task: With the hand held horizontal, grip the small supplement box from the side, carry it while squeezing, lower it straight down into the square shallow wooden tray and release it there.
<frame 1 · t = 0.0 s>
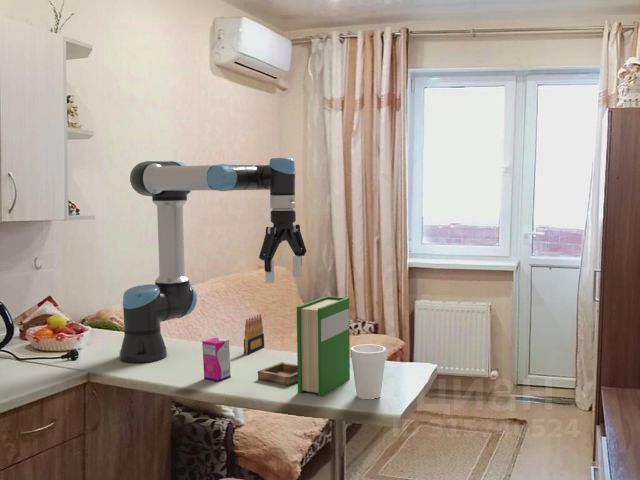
hand: (284, 279, 203), 28 cm above the countertop, tool pointing down, fingers open, 13 cm apart
hardback book: (324, 386, 190), on the countertop
ammunition clip: (254, 351, 229), on the countertop
supplement box: (217, 378, 198), on the countertop
shallow wooden tray: (285, 377, 197), on the countertop
foam cup: (368, 396, 180), on the countertop
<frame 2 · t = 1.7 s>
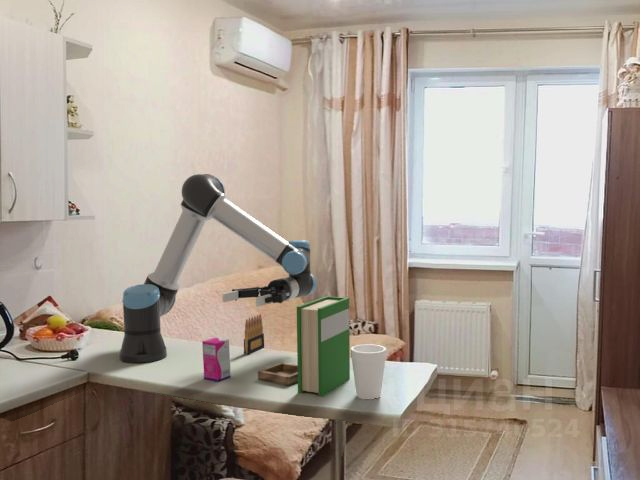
hand: (239, 300, 205), 22 cm above the countertop, tool horizontal, fingers open, 13 cm apart
nothing on the countertop moved.
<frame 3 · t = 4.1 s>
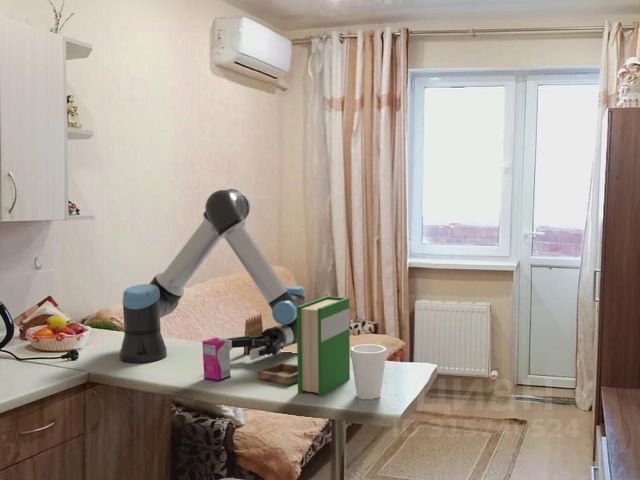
hand: (233, 352, 203), 6 cm above the countertop, tool horizontal, fingers open, 13 cm apart
nothing on the countertop moved.
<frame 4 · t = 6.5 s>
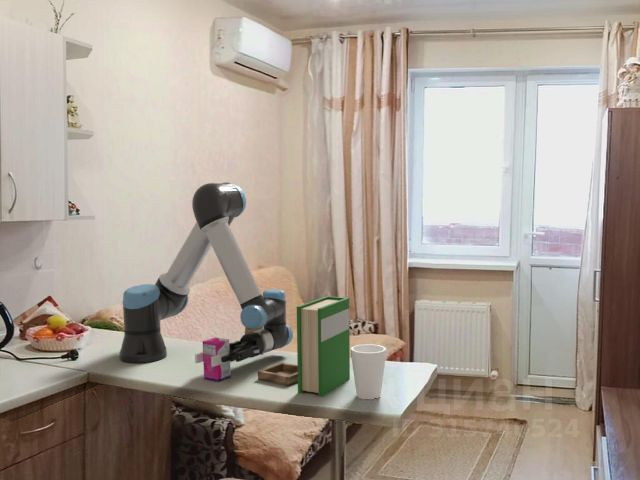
hand: (204, 360, 193), 7 cm above the countertop, tool horizontal, fingers closed on supplement box, 6 cm apart
supplement box: (217, 378, 198), on the countertop, touching gripper
everything else where it was.
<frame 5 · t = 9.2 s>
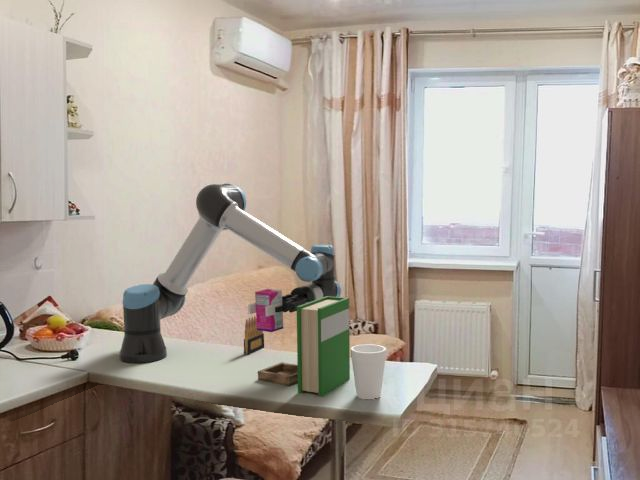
hand: (257, 310, 191), 21 cm above the countertop, tool horizontal, fingers closed on supplement box, 6 cm apart
supplement box: (269, 330, 196), point 14 cm above the countertop, touching gripper
everything else where it was.
when the fingers open (8 cm above the countertop, at t = 12.1 s): supplement box drops 1 cm, resting on shallow wooden tray.
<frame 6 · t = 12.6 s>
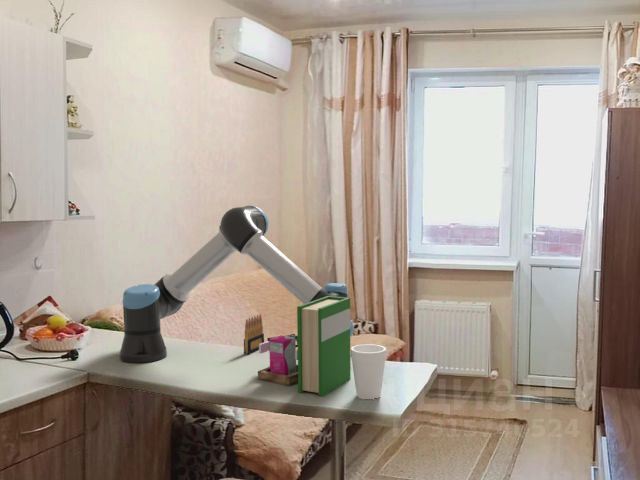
hand: (277, 351, 194), 9 cm above the countertop, tool horizontal, fingers open, 13 cm apart
hardback book: (325, 386, 190), on the countertop, touching hand
supplement box: (283, 376, 198), resting on shallow wooden tray
everything else where it was.
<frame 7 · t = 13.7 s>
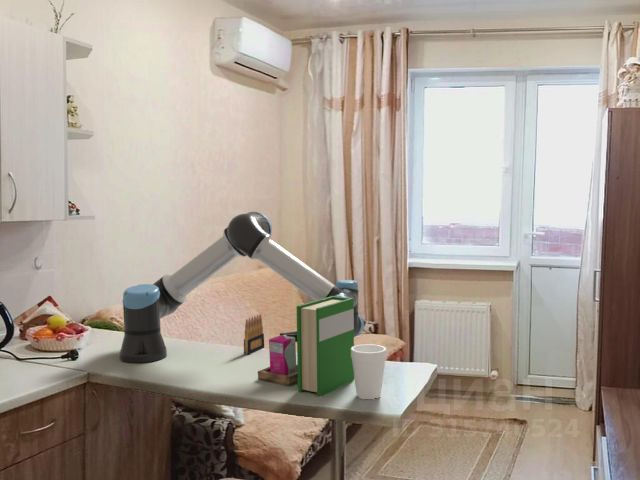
hand: (290, 346, 198), 9 cm above the countertop, tool horizontal, fingers open, 13 cm apart
hardback book: (326, 386, 190), on the countertop
everything else where it was.
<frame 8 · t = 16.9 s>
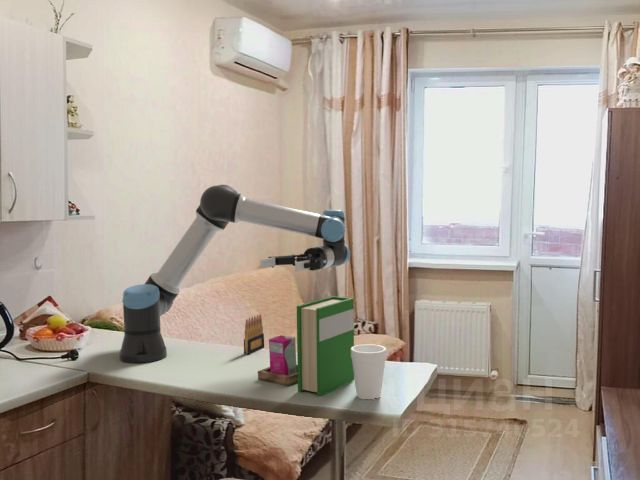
hand: (278, 265, 205), 32 cm above the countertop, tool horizontal, fingers open, 13 cm apart
nothing on the countertop moved.
at the end: supplement box 0.6 cm off-centre on the shallow wooden tray, point 0.3 cm above the shallow wooden tray's base; supplement box tilted 0°; the gripper is holding nothing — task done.
